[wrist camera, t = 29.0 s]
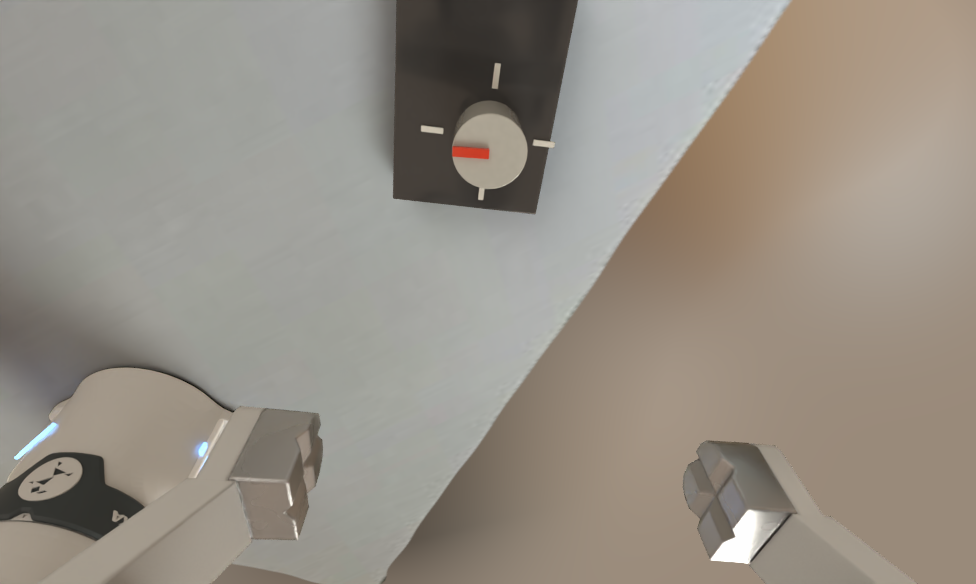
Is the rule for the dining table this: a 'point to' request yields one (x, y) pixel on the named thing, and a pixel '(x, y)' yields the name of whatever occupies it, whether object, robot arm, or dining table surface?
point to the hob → (475, 90)
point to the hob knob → (489, 145)
